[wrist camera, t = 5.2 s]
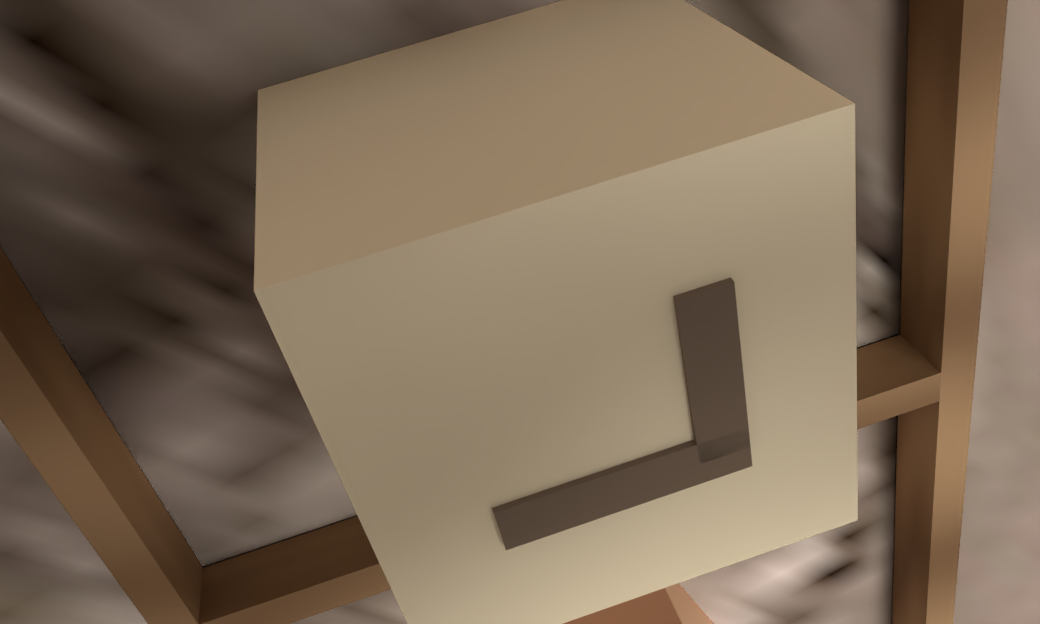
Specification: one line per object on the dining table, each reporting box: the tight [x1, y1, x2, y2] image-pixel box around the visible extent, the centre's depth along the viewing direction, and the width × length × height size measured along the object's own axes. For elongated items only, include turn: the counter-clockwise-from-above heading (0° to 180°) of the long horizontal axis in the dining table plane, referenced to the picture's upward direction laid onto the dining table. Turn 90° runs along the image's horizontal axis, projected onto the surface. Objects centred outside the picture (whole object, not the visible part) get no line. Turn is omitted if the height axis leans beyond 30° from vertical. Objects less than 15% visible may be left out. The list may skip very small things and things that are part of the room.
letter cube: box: [254, 0, 858, 624], centre depth 14 cm, size 6×7×7 cm
